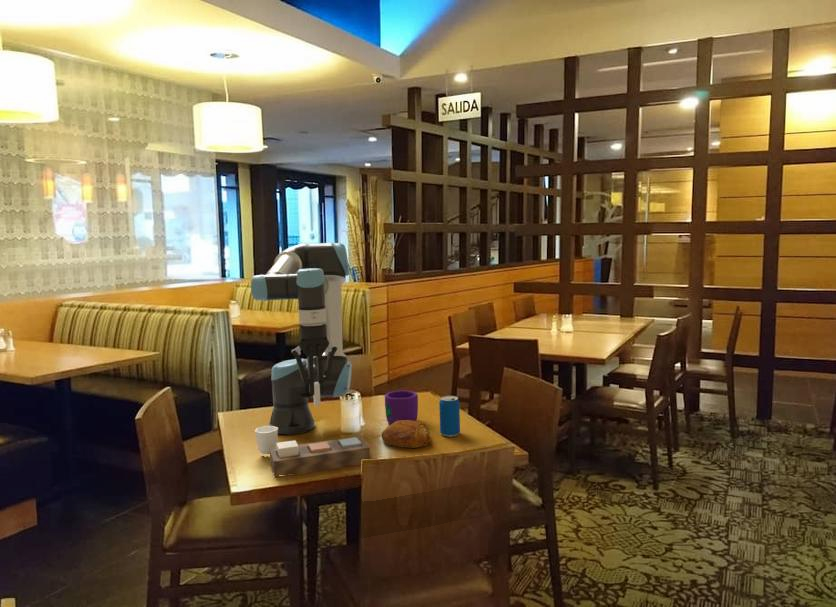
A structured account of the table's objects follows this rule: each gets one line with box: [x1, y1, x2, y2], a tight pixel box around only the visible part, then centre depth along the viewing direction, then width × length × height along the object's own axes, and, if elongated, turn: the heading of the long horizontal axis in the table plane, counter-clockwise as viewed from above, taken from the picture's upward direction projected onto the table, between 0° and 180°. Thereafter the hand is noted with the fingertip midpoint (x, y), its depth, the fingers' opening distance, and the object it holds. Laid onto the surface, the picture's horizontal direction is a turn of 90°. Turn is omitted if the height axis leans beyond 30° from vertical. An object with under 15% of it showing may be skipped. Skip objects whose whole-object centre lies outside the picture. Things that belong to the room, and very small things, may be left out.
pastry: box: [381, 420, 432, 449], centre depth 199 cm, size 14×16×8 cm
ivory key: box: [276, 439, 299, 458], centre depth 180 cm, size 5×5×4 cm
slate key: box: [339, 437, 361, 449], centre depth 186 cm, size 5×5×4 cm
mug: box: [384, 389, 419, 425], centre depth 222 cm, size 17×11×10 cm, turn 26°
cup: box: [254, 425, 279, 454], centre depth 192 cm, size 7×10×8 cm
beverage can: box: [438, 395, 461, 438], centre depth 204 cm, size 6×6×12 cm
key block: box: [269, 435, 371, 477], centre depth 183 cm, size 27×11×4 cm, turn 109°
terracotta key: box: [307, 441, 330, 453], centre depth 183 cm, size 5×5×4 cm
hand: (317, 405), depth 181 cm, fingers closed
